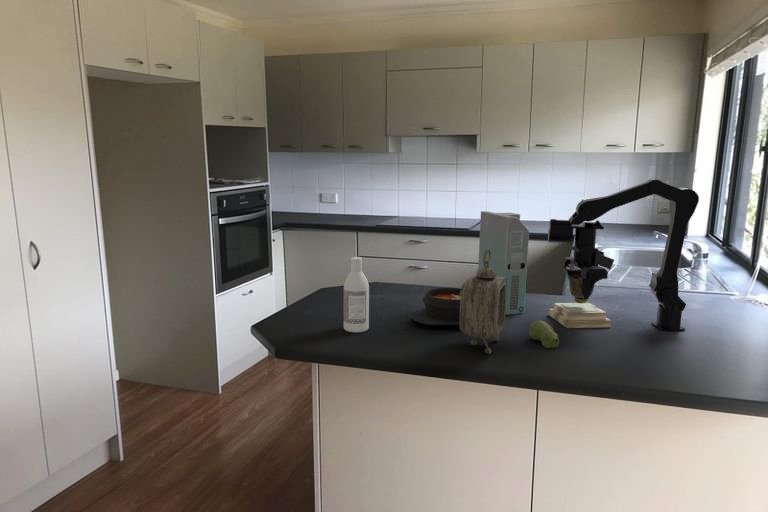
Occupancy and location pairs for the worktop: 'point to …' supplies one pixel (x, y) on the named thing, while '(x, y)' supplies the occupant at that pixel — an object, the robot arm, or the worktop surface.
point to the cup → (577, 288)
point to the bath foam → (356, 299)
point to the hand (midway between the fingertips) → (580, 296)
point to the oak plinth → (579, 315)
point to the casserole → (440, 307)
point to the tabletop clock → (483, 304)
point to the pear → (544, 334)
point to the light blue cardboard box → (506, 254)
